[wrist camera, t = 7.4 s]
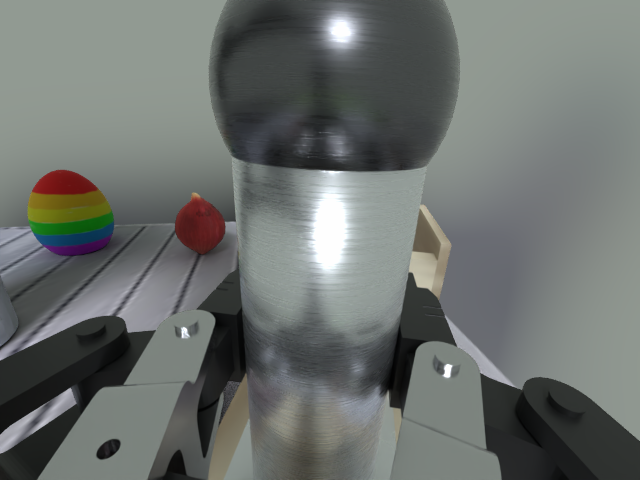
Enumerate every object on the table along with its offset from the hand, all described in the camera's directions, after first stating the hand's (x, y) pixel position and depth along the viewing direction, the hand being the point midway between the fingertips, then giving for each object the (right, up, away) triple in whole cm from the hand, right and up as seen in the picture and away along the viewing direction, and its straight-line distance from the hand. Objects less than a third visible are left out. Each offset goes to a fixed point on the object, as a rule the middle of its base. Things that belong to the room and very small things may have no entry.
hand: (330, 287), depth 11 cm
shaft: (0, -6, +4) cm, 8 cm away
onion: (-16, 0, +28) cm, 32 cm away
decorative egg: (-32, +1, +28) cm, 42 cm away
